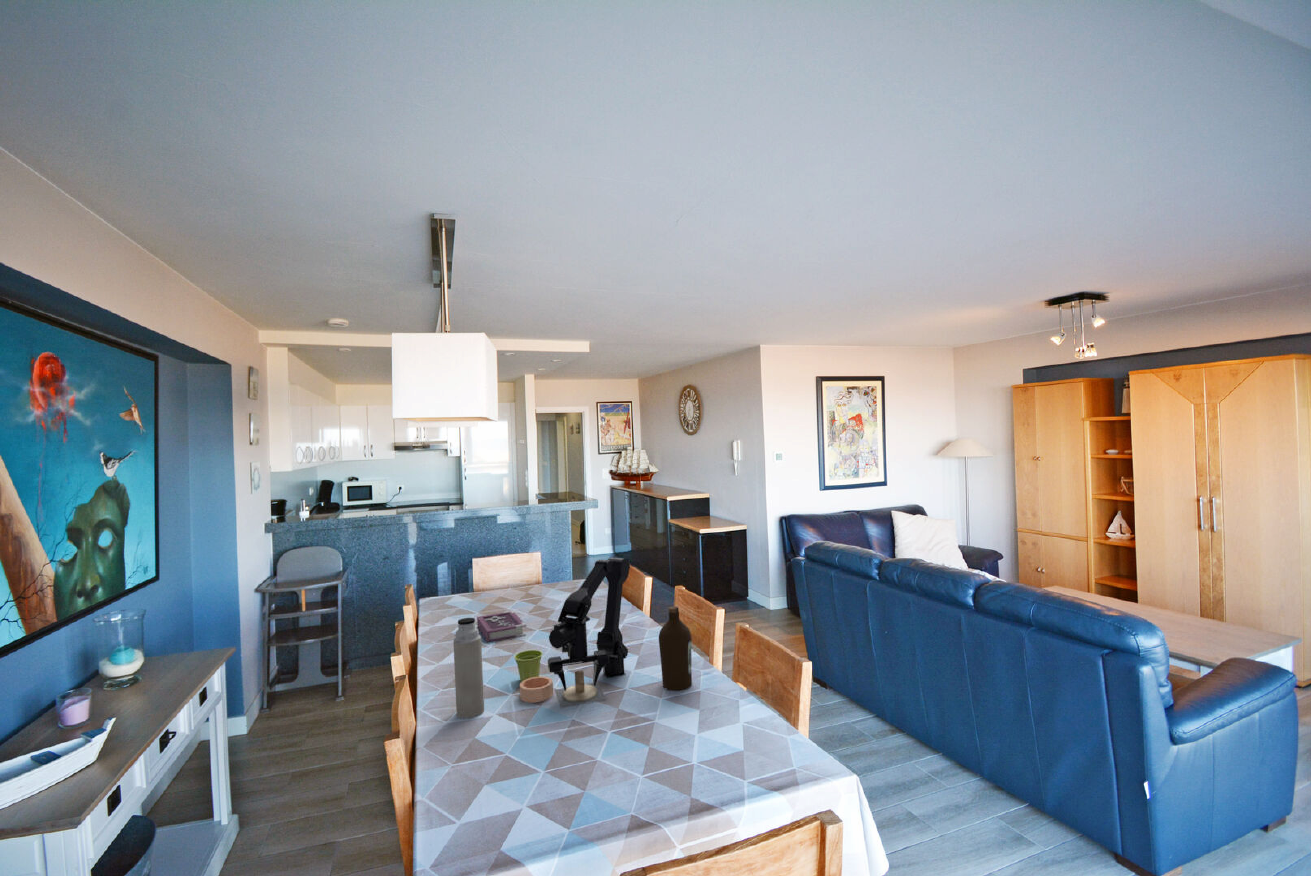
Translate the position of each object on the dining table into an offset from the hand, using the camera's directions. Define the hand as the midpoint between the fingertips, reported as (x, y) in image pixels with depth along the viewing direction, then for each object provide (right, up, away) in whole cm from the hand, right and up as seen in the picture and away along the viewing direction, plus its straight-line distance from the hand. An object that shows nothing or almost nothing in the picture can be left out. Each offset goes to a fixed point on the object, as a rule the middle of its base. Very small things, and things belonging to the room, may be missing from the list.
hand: (579, 687), depth 185 cm
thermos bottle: (-32, -4, -8) cm, 33 cm away
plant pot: (-19, -4, +15) cm, 25 cm away
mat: (0, -3, 0) cm, 3 cm away
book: (-44, -6, +72) cm, 85 cm away
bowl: (-14, -3, +1) cm, 14 cm away
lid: (0, -2, 0) cm, 2 cm away
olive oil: (+31, -1, +5) cm, 31 cm away
